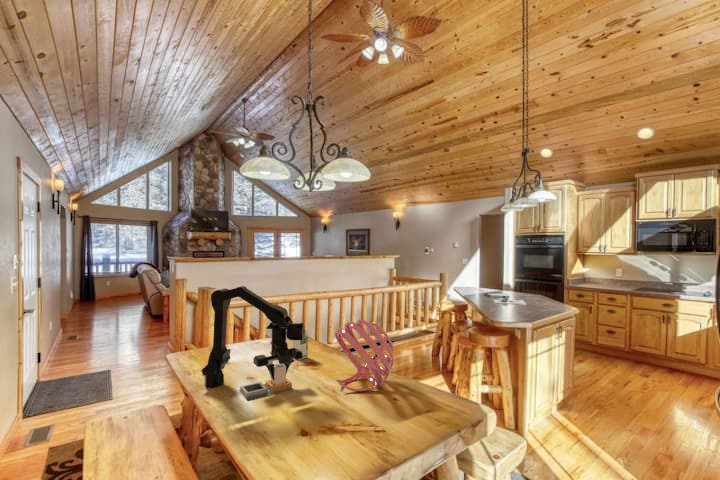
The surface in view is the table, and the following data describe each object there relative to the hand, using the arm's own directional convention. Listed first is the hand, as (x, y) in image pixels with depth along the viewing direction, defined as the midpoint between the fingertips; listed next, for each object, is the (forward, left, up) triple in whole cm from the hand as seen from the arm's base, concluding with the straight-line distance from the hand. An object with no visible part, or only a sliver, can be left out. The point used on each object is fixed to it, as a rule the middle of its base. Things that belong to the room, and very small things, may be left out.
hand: (278, 378), depth 138 cm
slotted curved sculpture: (+31, -16, -4) cm, 35 cm away
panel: (-5, 0, -4) cm, 6 cm away
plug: (0, 0, -3) cm, 3 cm away
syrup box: (+24, +32, -4) cm, 40 cm away
